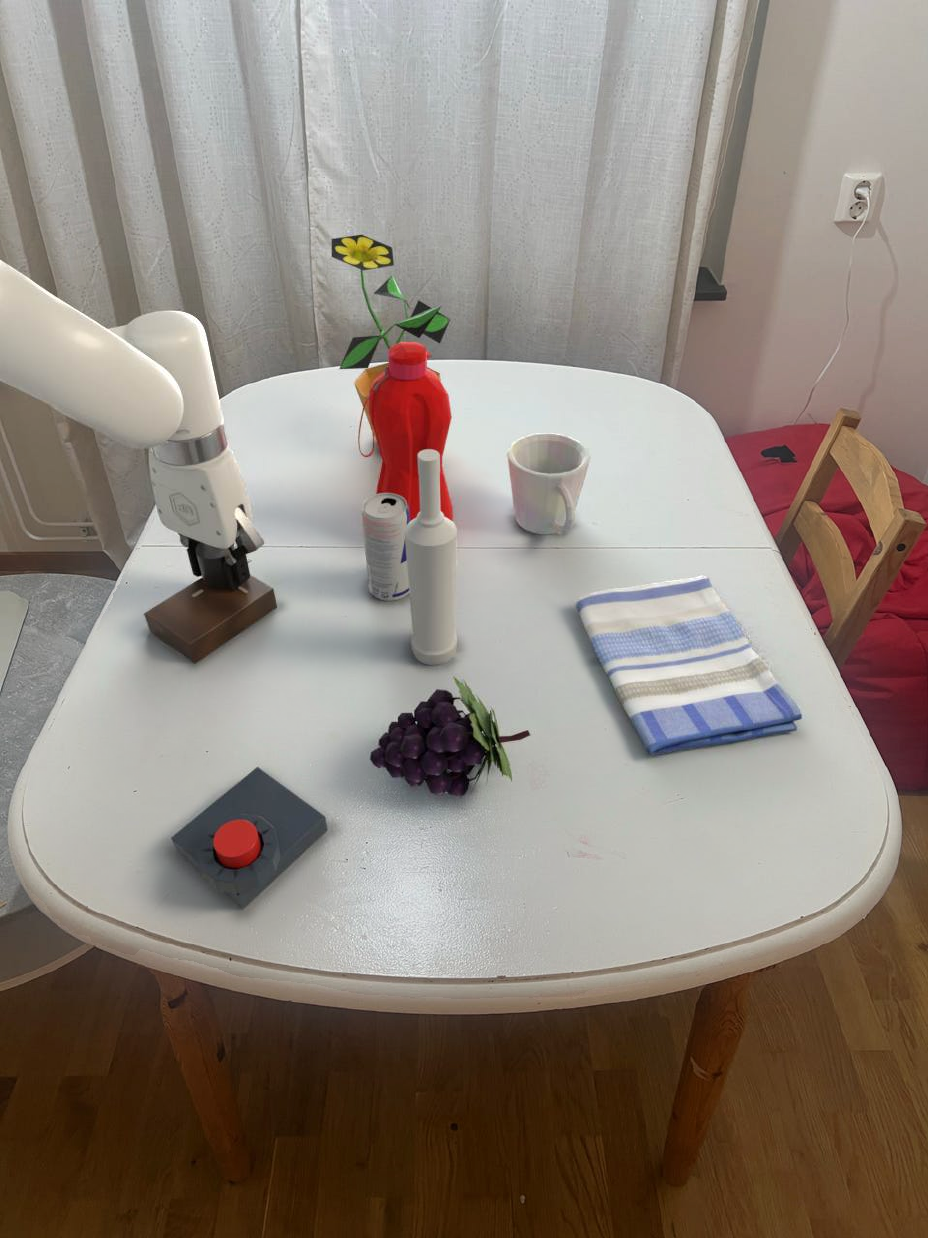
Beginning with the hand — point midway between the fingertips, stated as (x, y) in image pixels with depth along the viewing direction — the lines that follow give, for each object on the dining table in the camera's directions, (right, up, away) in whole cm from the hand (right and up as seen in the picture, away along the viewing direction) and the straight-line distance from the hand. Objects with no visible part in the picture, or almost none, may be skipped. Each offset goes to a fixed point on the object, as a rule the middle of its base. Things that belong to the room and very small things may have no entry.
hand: (222, 575), depth 99 cm
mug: (+39, +7, +13) cm, 42 cm away
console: (-1, -4, 0) cm, 4 cm away
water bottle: (+21, +6, +12) cm, 25 cm away
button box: (+9, -25, -22) cm, 35 cm away
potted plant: (+19, +21, +29) cm, 40 cm away
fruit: (+27, -20, -17) cm, 37 cm away
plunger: (+9, -25, -27) cm, 38 cm away
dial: (0, 0, 0) cm, 0 cm away
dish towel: (+52, -10, -6) cm, 53 cm away
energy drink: (+19, -1, +4) cm, 20 cm away
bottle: (+25, -9, -4) cm, 27 cm away
